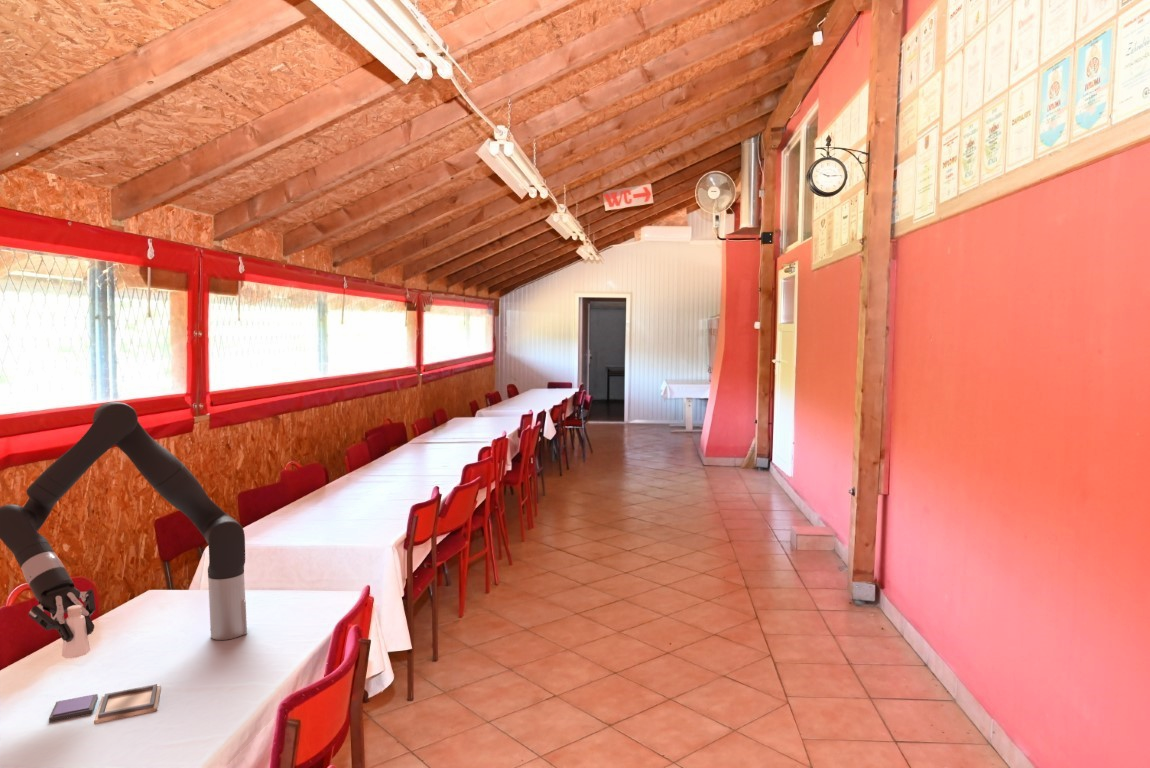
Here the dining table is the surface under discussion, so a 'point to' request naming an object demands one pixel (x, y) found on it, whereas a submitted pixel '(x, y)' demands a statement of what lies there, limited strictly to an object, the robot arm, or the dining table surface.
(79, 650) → the pepper shaker
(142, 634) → the dining table surface
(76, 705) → the ink pad
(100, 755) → the dining table surface
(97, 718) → the board
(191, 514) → the robot arm
